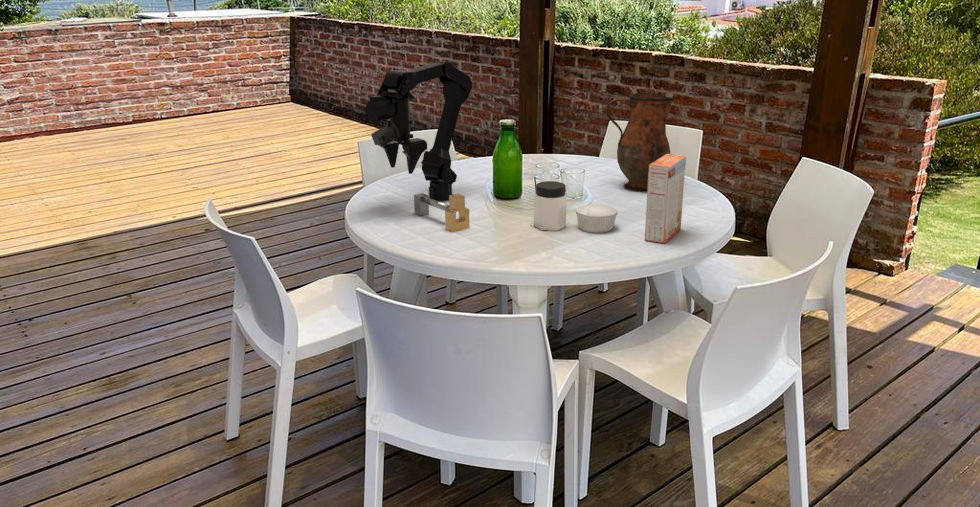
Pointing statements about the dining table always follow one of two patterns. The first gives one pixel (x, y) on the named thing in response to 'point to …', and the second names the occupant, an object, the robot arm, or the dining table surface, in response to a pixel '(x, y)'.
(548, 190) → the jar
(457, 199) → the stirrup
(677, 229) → the cracker box
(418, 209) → the hook post
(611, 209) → the ramekin
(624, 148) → the pitcher
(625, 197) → the dining table surface
